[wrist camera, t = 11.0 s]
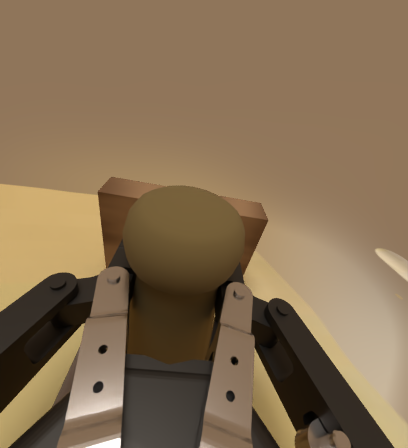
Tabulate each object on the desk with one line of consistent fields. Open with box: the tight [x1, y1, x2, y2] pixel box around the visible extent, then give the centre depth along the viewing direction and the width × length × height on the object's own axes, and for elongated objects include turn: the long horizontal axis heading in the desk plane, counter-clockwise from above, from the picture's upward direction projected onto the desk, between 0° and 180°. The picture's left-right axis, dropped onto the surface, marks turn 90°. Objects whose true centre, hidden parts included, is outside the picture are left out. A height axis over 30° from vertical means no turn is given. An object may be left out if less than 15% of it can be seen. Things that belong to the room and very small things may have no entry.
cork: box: [122, 186, 245, 364], centre depth 11 cm, size 6×6×11 cm
